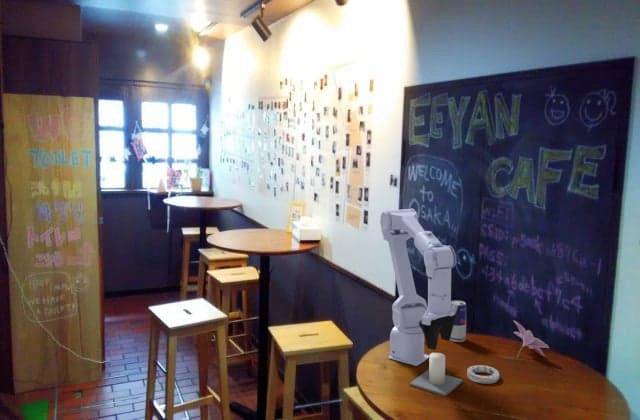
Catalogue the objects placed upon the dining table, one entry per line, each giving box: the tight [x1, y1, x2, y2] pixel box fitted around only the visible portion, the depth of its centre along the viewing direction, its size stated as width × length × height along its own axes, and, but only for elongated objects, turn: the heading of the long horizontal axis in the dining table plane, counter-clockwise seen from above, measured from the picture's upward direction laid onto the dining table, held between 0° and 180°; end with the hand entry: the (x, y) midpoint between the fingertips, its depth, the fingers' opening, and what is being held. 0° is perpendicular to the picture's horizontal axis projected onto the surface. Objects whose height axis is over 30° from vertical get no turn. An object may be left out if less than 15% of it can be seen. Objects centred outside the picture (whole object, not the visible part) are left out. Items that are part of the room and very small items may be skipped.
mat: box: [409, 369, 464, 397], centre depth 136 cm, size 10×10×1 cm
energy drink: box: [449, 299, 467, 343], centre depth 166 cm, size 5×5×12 cm
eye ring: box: [466, 364, 500, 385], centre depth 139 cm, size 8×8×2 cm
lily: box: [512, 320, 550, 358], centre depth 153 cm, size 12×12×10 cm
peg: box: [428, 352, 446, 385], centre depth 135 cm, size 4×4×7 cm
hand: (438, 344), depth 136 cm, fingers open, 7 cm apart
